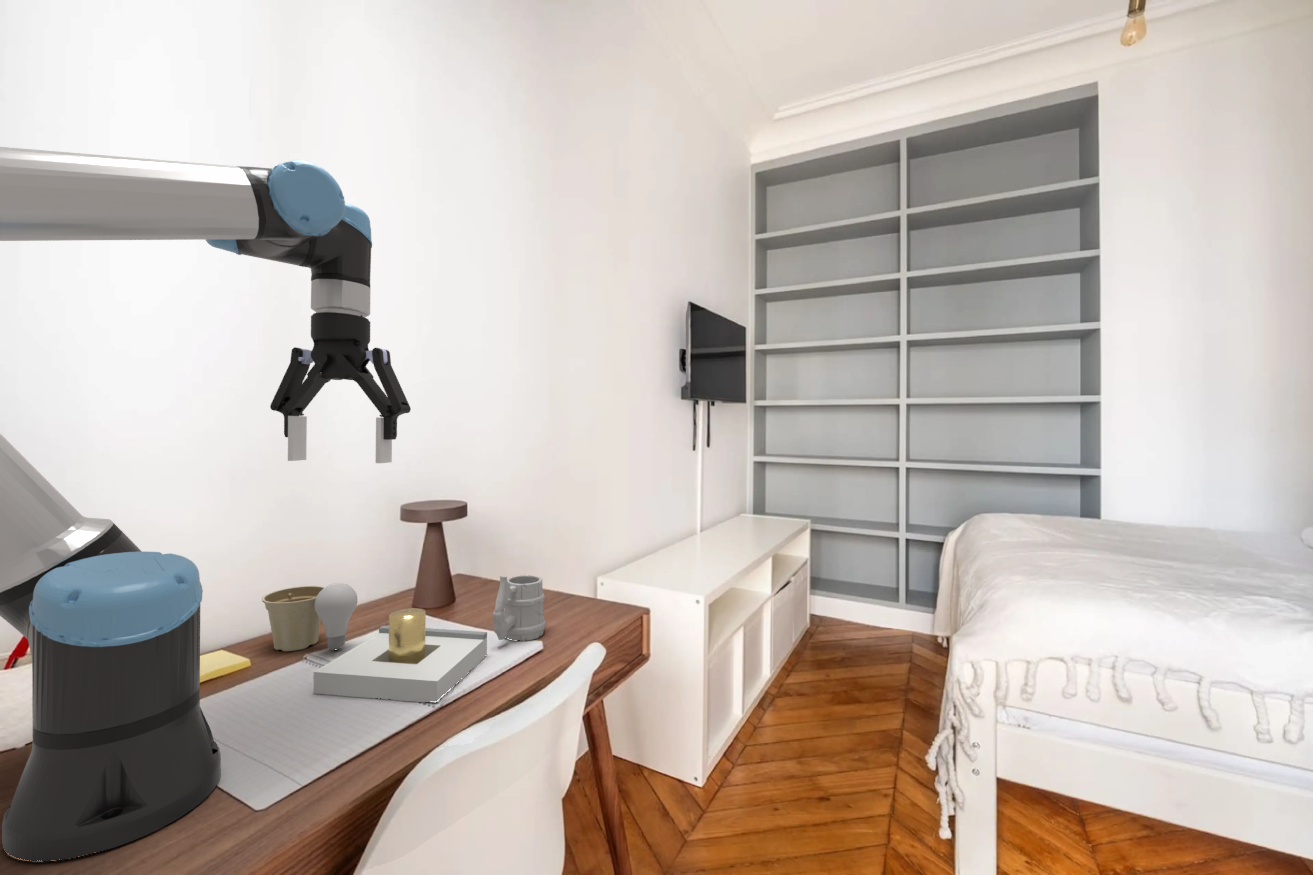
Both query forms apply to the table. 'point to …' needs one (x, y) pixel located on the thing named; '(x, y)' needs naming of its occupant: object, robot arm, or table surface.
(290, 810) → the table surface
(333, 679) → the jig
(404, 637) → the gold cylinder
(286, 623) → the flower pot
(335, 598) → the lightbulb
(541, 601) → the mug
